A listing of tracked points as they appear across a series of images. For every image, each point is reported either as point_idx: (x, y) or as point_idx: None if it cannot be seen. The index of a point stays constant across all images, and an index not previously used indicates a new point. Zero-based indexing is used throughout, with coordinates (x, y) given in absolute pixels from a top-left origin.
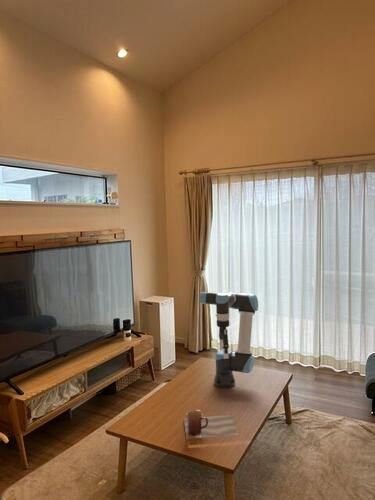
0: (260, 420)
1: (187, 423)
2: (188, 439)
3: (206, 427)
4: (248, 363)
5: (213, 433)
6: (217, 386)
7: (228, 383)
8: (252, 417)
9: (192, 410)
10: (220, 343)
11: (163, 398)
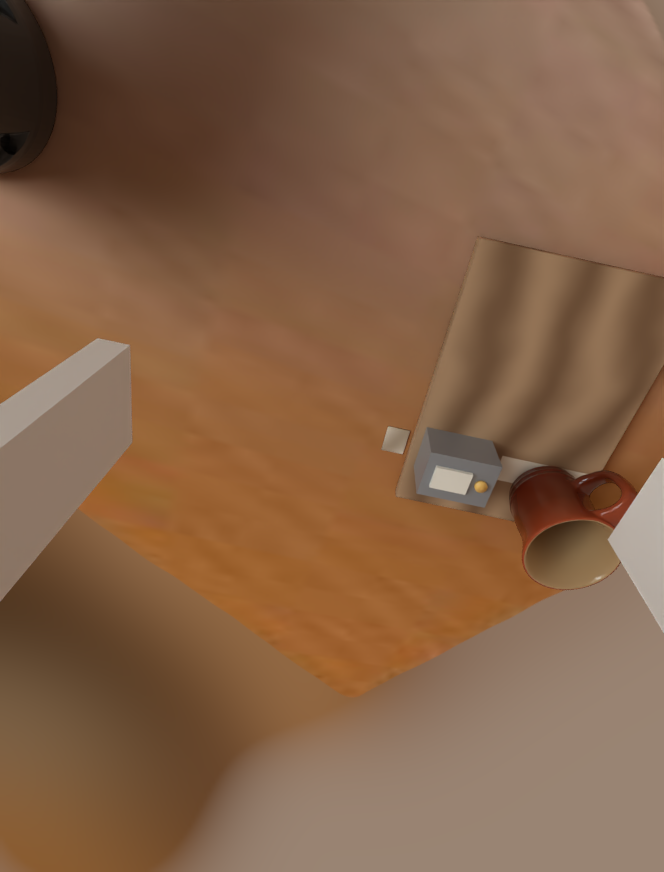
0: (637, 16)
1: None
2: None
3: (529, 427)
4: None
5: (602, 414)
6: (30, 160)
7: (26, 55)
8: (563, 69)
9: (419, 488)
10: (31, 540)
11: (155, 515)
